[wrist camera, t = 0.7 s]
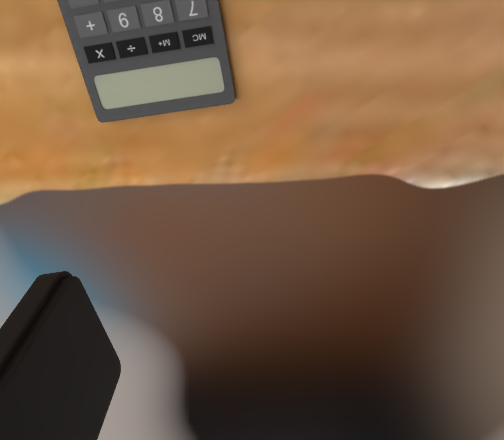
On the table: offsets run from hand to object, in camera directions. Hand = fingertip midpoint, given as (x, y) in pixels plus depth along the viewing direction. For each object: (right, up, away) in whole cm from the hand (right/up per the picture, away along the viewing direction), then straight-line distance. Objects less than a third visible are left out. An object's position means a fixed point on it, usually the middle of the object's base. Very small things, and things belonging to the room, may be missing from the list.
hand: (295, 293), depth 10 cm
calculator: (-9, +17, +24) cm, 31 cm away
